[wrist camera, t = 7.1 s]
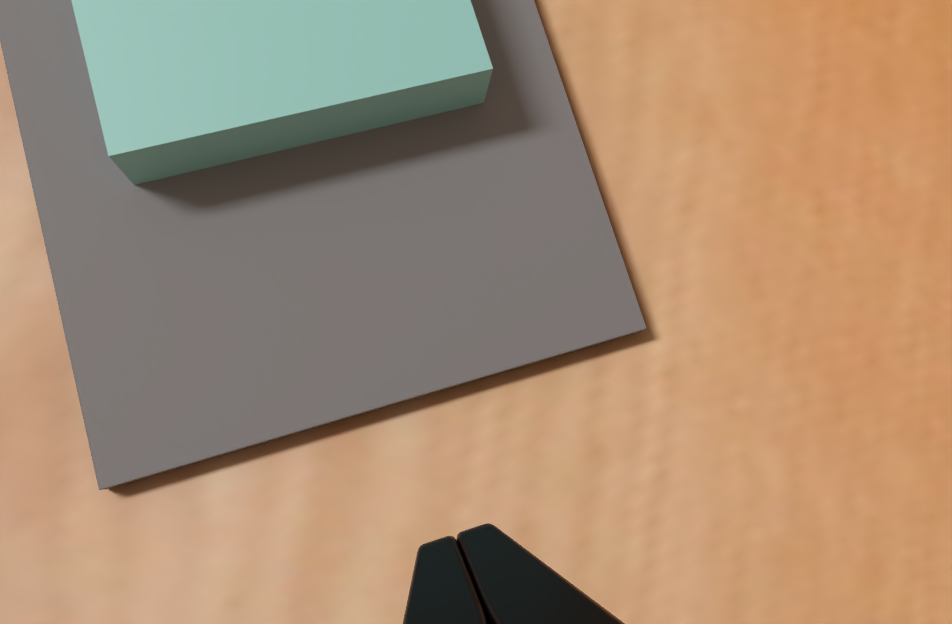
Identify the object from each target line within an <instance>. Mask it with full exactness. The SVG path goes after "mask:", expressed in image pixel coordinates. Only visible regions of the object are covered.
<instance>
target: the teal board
mask: <svg viewBox="0 0 952 624" xmlns="http://www.w3.org/2000/svg"><path fill="white" fill-rule="evenodd" d="M71 1H72V5H73V9H74V14H75V18H76V22H77V26H78V30H79V35H80V39H81V43H82V47H83V51H84V56H85V60H86V64H87V68H88V72H89V77H90V81H91V85H92V89H93V93H94V98H95V102H96V106H97V110H98V114H99V119H100V123H101V127H102V131H103V135H104V140H105V144H106V148H107V152H108V156H109V157H110V158H111V160H112V161H113V162H114V163H115V164H116V165H117V166H118V167H119V169H120V170H121V171H122V172H123V173H124V174H125V175H126V176H127V178H128V179H129V180H130V181H131V182H132V183H133V184H134V185H136V184H140V183H145V182H149V181H153V180H157V179H162V178H166V177H170V176H174V175H179V174H183V173H187V172H191V171H196V170H200V169H204V168H208V167H213V166H217V165H221V164H226V163H230V162H234V161H238V160H243V159H247V158H251V157H255V156H260V155H264V154H268V153H272V152H277V151H281V150H285V149H289V148H294V147H298V146H302V145H306V144H311V143H315V142H319V141H324V140H328V139H332V138H336V137H341V136H345V135H349V134H353V133H358V132H362V131H366V130H370V129H375V128H379V127H383V126H387V125H392V124H396V123H400V122H404V121H409V120H413V119H417V118H422V117H426V116H430V115H434V114H439V113H443V112H447V111H451V110H456V109H460V108H464V107H468V106H473V105H477V104H481V103H484V101H485V97H486V93H487V89H488V86H489V82H490V78H491V74H492V71H493V67H492V64H491V61H490V58H489V55H488V52H487V49H486V46H485V43H484V40H483V37H482V34H481V30H480V27H479V24H478V21H477V18H476V15H475V12H474V9H473V6H472V3H471V0H71Z"/></svg>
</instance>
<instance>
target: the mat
mask: <svg viewBox="0 0 952 624" xmlns="http://www.w3.org/2000/svg"><path fill="white" fill-rule="evenodd" d="M471 3H472V6H473V9H474V12H475V15H476V18H477V21H478V24H479V27H480V30H481V34H482V37H483V40H484V43H485V46H486V49H487V52H488V55H489V58H490V61H491V64H492V67H493V71H492V74H491V78H490V82H489V86H488V89H487V93H486V97H485V101H484V103H481V104H477V105H473V106H468V107H464V108H460V109H456V110H451V111H447V112H443V113H439V114H434V115H430V116H426V117H422V118H417V119H413V120H409V121H404V122H400V123H396V124H392V125H387V126H383V127H379V128H375V129H370V130H366V131H362V132H358V133H353V134H349V135H345V136H341V137H336V138H332V139H328V140H324V141H319V142H315V143H311V144H306V145H302V146H298V147H294V148H289V149H285V150H281V151H277V152H272V153H268V154H264V155H260V156H255V157H251V158H247V159H243V160H238V161H234V162H230V163H226V164H221V165H217V166H213V167H208V168H204V169H200V170H196V171H191V172H187V173H183V174H179V175H174V176H170V177H166V178H162V179H157V180H153V181H149V182H145V183H140V184H136V185H134V184H133V183H132V182H131V181H130V180H129V179H128V178H127V176H126V175H125V174H124V173H123V172H122V171H121V170H120V169H119V167H118V166H117V165H116V164H115V163H114V162H113V161H112V160H111V158H110V157H109V156H108V152H107V148H106V144H105V140H104V135H103V131H102V127H101V123H100V119H99V114H98V110H97V106H96V102H95V98H94V93H93V89H92V85H91V81H90V77H89V72H88V68H87V64H86V60H85V56H84V51H83V47H82V43H81V39H80V35H79V30H78V26H77V22H76V18H75V14H74V9H73V5H72V1H71V0H0V42H1V46H2V51H3V55H4V60H5V64H6V69H7V74H8V78H9V83H10V87H11V92H12V96H13V101H14V105H15V110H16V114H17V119H18V123H19V128H20V133H21V137H22V142H23V146H24V151H25V155H26V160H27V164H28V169H29V173H30V178H31V183H32V187H33V192H34V196H35V201H36V205H37V210H38V214H39V219H40V223H41V228H42V233H43V237H44V242H45V246H46V251H47V255H48V260H49V264H50V269H51V273H52V278H53V282H54V287H55V292H56V296H57V301H58V305H59V310H60V314H61V319H62V323H63V328H64V332H65V337H66V342H67V346H68V351H69V355H70V360H71V364H72V369H73V373H74V378H75V382H76V387H77V392H78V396H79V401H80V405H81V410H82V414H83V419H84V423H85V428H86V432H87V437H88V441H89V446H90V451H91V455H92V460H93V464H94V469H95V473H96V478H97V482H98V487H99V490H101V489H108V488H112V487H115V486H119V485H122V484H125V483H129V482H132V481H135V480H139V479H142V478H146V477H149V476H152V475H156V474H159V473H163V472H166V471H169V470H173V469H176V468H180V467H183V466H186V465H190V464H193V463H196V462H200V461H203V460H207V459H210V458H213V457H217V456H220V455H224V454H227V453H230V452H234V451H237V450H241V449H244V448H247V447H251V446H254V445H257V444H261V443H264V442H268V441H271V440H274V439H278V438H281V437H285V436H288V435H291V434H295V433H298V432H302V431H305V430H308V429H312V428H315V427H318V426H322V425H325V424H329V423H332V422H335V421H339V420H342V419H346V418H349V417H352V416H356V415H359V414H363V413H366V412H369V411H373V410H376V409H379V408H383V407H386V406H390V405H393V404H396V403H400V402H403V401H407V400H410V399H413V398H417V397H420V396H424V395H427V394H430V393H434V392H437V391H440V390H444V389H447V388H451V387H454V386H457V385H461V384H464V383H468V382H471V381H474V380H478V379H481V378H485V377H488V376H491V375H495V374H498V373H501V372H505V371H508V370H512V369H515V368H518V367H522V366H525V365H529V364H532V363H535V362H539V361H542V360H546V359H549V358H552V357H556V356H559V355H562V354H566V353H569V352H573V351H576V350H579V349H583V348H586V347H590V346H593V345H596V344H600V343H603V342H607V341H610V340H613V339H617V338H620V337H623V336H627V335H630V334H634V333H637V332H640V331H643V330H644V329H646V325H645V322H644V319H643V316H642V313H641V310H640V307H639V305H638V302H637V299H636V296H635V293H634V290H633V287H632V284H631V281H630V278H629V275H628V273H627V270H626V267H625V264H624V261H623V258H622V255H621V252H620V249H619V246H618V243H617V241H616V238H615V235H614V232H613V229H612V226H611V223H610V220H609V217H608V214H607V211H606V208H605V206H604V203H603V200H602V197H601V194H600V191H599V188H598V185H597V182H596V179H595V176H594V174H593V171H592V168H591V165H590V162H589V159H588V156H587V153H586V150H585V147H584V144H583V141H582V139H581V136H580V133H579V130H578V127H577V124H576V121H575V118H574V115H573V112H572V109H571V107H570V104H569V101H568V98H567V95H566V92H565V89H564V86H563V83H562V80H561V77H560V75H559V72H558V69H557V66H556V63H555V60H554V57H553V54H552V51H551V48H550V45H549V42H548V40H547V37H546V34H545V31H544V28H543V25H542V22H541V19H540V16H539V13H538V10H537V8H536V5H535V2H534V0H471Z"/></svg>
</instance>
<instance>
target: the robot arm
mask: <svg viewBox="0 0 952 624" xmlns="http://www.w3.org/2000/svg"><path fill="white" fill-rule="evenodd" d="M403 624H624V623H623V622H622V621H620V620H619V619H618V618H616V617H615V616H614V615H612V614H611V613H610V612H608V611H607V610H606V609H604V608H603V607H602V606H600V605H599V604H598V603H596V602H595V601H594V600H592V599H591V598H590V597H589V596H587V595H586V594H585V593H583V592H582V591H581V590H579V589H578V588H577V587H575V586H574V585H573V584H571V583H570V582H569V581H567V580H566V579H565V578H563V577H562V576H561V575H559V574H558V573H557V572H555V571H554V570H553V569H551V568H550V567H549V566H547V565H546V564H545V563H543V562H542V561H541V560H539V559H538V558H537V557H535V556H534V555H533V554H531V553H530V552H529V551H527V550H526V549H525V548H523V547H522V546H521V545H519V544H518V543H517V542H515V541H514V540H513V539H511V538H510V537H509V536H507V535H506V534H505V533H503V532H502V531H501V530H499V529H498V528H497V527H495V526H494V525H492V524H484V525H480V526H477V527H474V528H471V529H468V530H465V531H462V532H460V533H459V534H458V535H457V541H456V539H455V538H454V537H453V536H447V537H444V538H441V539H438V540H435V541H432V542H429V543H426V544H423V545H422V546H420V547H419V549H418V552H417V557H416V562H415V567H414V571H413V576H412V581H411V586H410V591H409V596H408V601H407V606H406V611H405V615H404V620H403Z"/></svg>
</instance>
